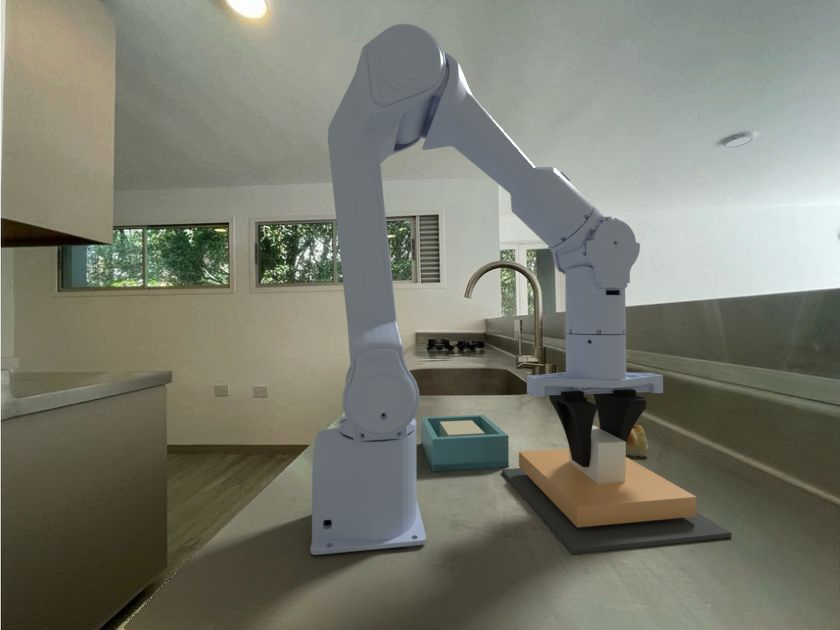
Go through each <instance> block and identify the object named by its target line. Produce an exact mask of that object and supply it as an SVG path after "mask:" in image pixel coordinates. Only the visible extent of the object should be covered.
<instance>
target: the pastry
mask: <svg viewBox="0 0 840 630" xmlns="http://www.w3.org/2000/svg"><path fill="white" fill-rule="evenodd" d="M595 426H596V427H598V428H600V424H598V425H597V424H596V425H595ZM646 438H647V437H646V433H645V430H644V428H643V427H642V426H641V424H640V425H639V424H638V425H637V424H635V425H634V427H633V429H632V431H631V433H630V435H629V438H628V441H627V444H626V456H629V455H630V456H631V457H637V456H640V457H641V458H645V457H644V456H646V457H647V455H648V454H649V452H650V449H649V444H648V439H646Z"/></svg>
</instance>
